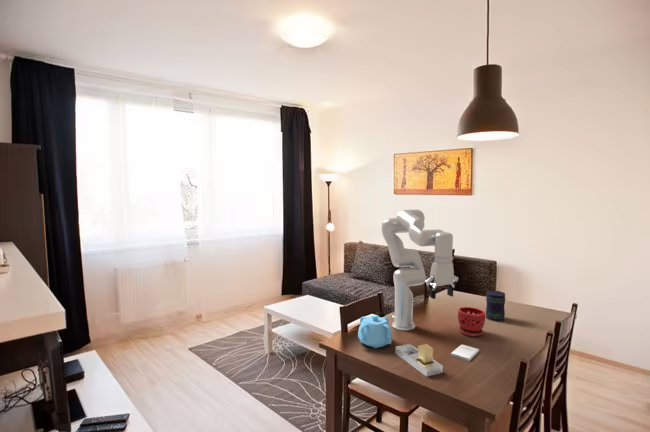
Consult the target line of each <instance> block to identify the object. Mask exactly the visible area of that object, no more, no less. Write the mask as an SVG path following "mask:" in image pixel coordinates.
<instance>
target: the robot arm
mask: <svg viewBox="0 0 650 432" xmlns="http://www.w3.org/2000/svg"><path fill="white" fill-rule="evenodd" d="M424 228H425V214H424V213H423V211H422V210H420V209H402V210H400V211H399V212H397V214H396V217H390V218H386V219H385V220H383V221H382V224H381V233H382V237H383V239H384V241H385V243H386V244H387V248H388V253H389V256H390V260H391V263H392V265H393V266H394V267H395V268H398V269H396V270H394V272H393V276H392V277H393V284H394V315H392V316H391V318H392V319H394V320H393V321H392V322H391V327H392V328H393V329H396V330H398V331H412V330H414V329H415V328H416V323H414V322H413V315H414V314H413V313H414V311H413V310H414V294H413V292H412V290H411V289H410V287H413V286H421V285H424V284H426V287H427V288H428V289H429V298H431V299H433V300H435V299H436V291H437V290H436V289H437V287H441V286H447V285H448V286H447V289H446V290H447V291H446V292H447V295H448V296H450V297H454V288H455V287H456V285H457V283H458V281H459V277H458V276H456V275H455V274H454V273H455V271H454V263H453V260H454V257H453V248H454V247H453V244H454V243H453V241H454V236H453V234H452V233H450V232H447V231H444V230H443V229H424ZM404 233H408V236H409V239H410V240H411V241H412V242H413V243H414V244H415V245H417V246H419V247H434V253H433V254H434V260H433V262H432V264H431V267H430V275H429V277H428V278H427V277H426V271H425V269H424V265H423V262H422V258H421V256H420V253H419V252H418V251H417V250H416V249H413V248H408V249H407V248H405V246H404V242H403V240H402V239H401V237H399V236H398V235H397V234H404ZM405 267H406V268H405ZM408 267H409V268H408ZM426 278H427V279H426Z"/></svg>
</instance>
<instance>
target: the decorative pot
mask: <svg viewBox="0 0 650 432" xmlns="http://www.w3.org/2000/svg"><path fill="white" fill-rule="evenodd" d="M358 327H359V328H358V331H357V337H358V339H359V341H360V343H361V344H364V345H366V346H369V347H372V348H373V349H379V348H383V347H385V346H387V345H391V344H392V340H393V332H392V328H391V326H390V324H389V318H388V317H386V316H383V317H380V316H379V315H377V314H373V315H369V316H368V317H367V316H361V317H360V319H359V326H358Z"/></svg>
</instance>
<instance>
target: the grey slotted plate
mask: <svg viewBox="0 0 650 432" xmlns="http://www.w3.org/2000/svg"><path fill="white" fill-rule="evenodd" d="M394 351H395V352H394V353H395V354H396V355H397V356H398V357H400V359H402V360H403V361H405V362H406V363H408V364H409V365H410V366H411V367H412V368H414V369H416V370H417V371H419V373H421V374H422V375H424V376H425V377H431V376H435V375H440V374H443V372H444V371H443V369H444V366H443V364H441V363H439V361H436V360H435V359H434V358H433V363H431V364H427V365H423V364H422V363H420V362H419V361H418V348H417V347H415V346H414V345H412V344H411V343H409V344H408V343H407V344H403V345H398V346H395V350H394Z"/></svg>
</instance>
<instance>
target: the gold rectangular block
mask: <svg viewBox="0 0 650 432" xmlns="http://www.w3.org/2000/svg"><path fill="white" fill-rule="evenodd" d="M417 347H418V348H417V349H418V361H419V362H420V363H422V364H423V365H427V364H431V363H433V359H434V347H432V346H431V345H429V344H427V343H424V344H421V345H417Z"/></svg>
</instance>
